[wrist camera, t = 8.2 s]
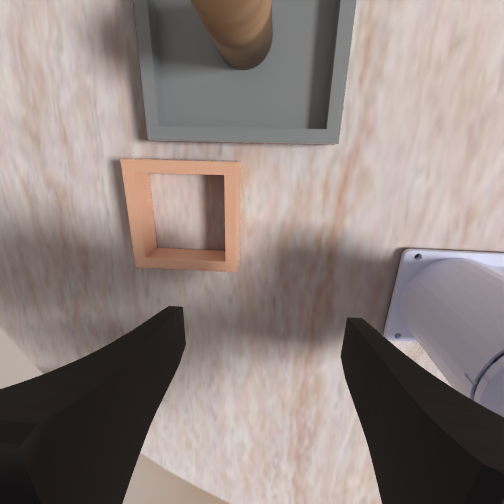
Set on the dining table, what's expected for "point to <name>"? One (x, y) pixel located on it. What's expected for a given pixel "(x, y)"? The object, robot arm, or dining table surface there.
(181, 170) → the collar
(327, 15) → the tray
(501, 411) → the robot arm
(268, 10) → the dowel
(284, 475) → the dining table surface
